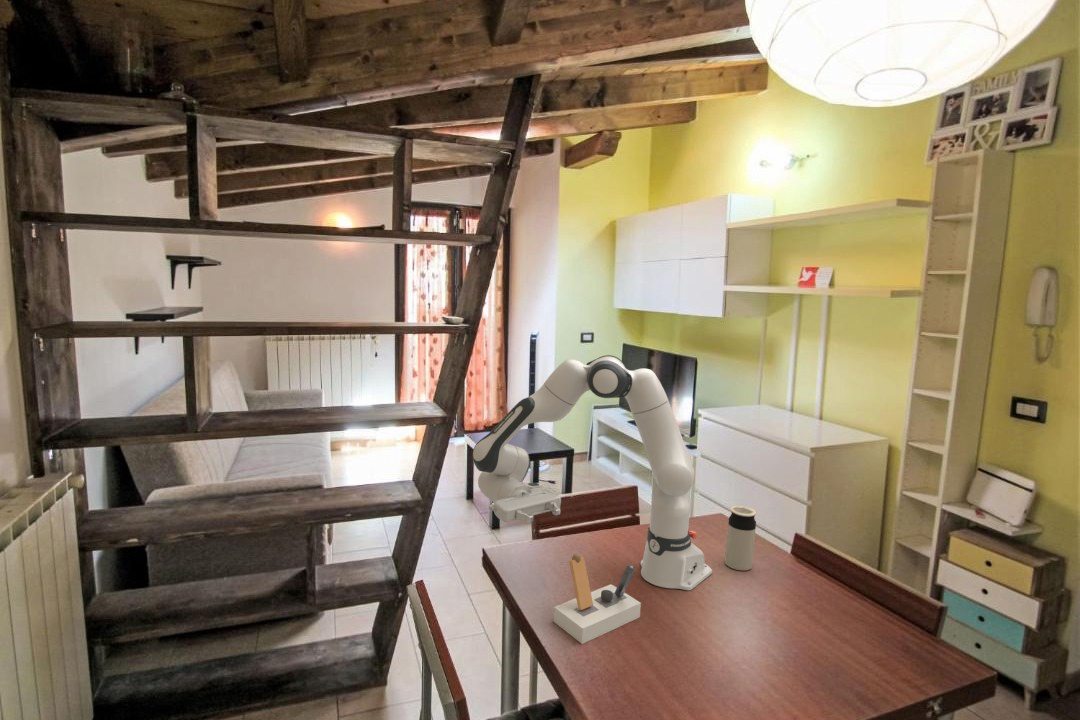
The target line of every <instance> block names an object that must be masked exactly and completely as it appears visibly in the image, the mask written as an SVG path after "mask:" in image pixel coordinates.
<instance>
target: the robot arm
mask: <svg viewBox="0 0 1080 720" xmlns="http://www.w3.org/2000/svg"><path fill="white" fill-rule="evenodd" d="M588 391H590V392H592V393H593V394H594V395H595V396H596V397H599V398H603V399H615V398H617V399H618V398H625V400H626V402H627V404H628V406H629V410H630V413H631V414H632V418H633V419H634V422H635V425H636V427H637V429H638V430H637V431H638V432H639V435H640V437H641V440H642V443H643V449H644V452H645V454H646V457H647V460H648V463H649V466H650V469H651V472H652V483H651V504H650V518H649V520H650V521H649V526H648V529H647V533H646V534H647V536H646V537H647V538H646V539H647V540H646V541H645V545H644V546H645V547H644V553H643V557H642V559H641V560H640V567H641V569H640V575H641V577H642V578H643V579H644V580H645V581H646V582H648V583H650V584H652V585H654V586H656V587H660V588H664V589H665V588H666V589H677V590H678V589H680V590H685V591H691V590H693V589H694V588H696V587H697V586H698V585H699V584H701V583H702V582H703V581H704V580H706V579H707V578H708V577H709V576H710V575H712V574H713V569H712V568H711V567H710V566H709V565H708V564H706V563H705V555H704V552H703V551H702V550H701V549H700V548H699V547H697V546H696V545H695V544H694V543H693V542H692V541H691V540H692V539H693V540H695V539H697V537H698V533H697V531H693V530H692V529H691V530H689V526H690V525H689V523H690V512H691V511H690V510H691V488H692V486H693V485H694V481H695V468H694V465H693V461H692V458H691V457H692V456H691V455H690V452H689V450H687V447H686V444H685V442H684V439H683V436H682V433H681V431H680V427H679V424H678V422H677V419H676V416H675V414H674V411H673V409H672V406H671V403H670V400H669V398H668V395H667V393H666V391H665V389H664V387H663V386H662V383H661V381H660V379H659V378H658V377H657V375H656V373H655V372H654V371H653V370H652V369H649V368H643V367H642V368H638V369H634V370H630V369H629V368H628V369H627V368H626V365H625V363H624V362H623V360H621V359H620V358H619V357H617V356H616V355H615V356H614V355H609V354H607V355H602V356H599V357H597V358H596V359H593V360H590V361H589V362H586V364H585V363H583V362H582V361H580V360H577V359H573V358H568V359H565V360H564V361H563V362H561V363H560V364H559V365H558V366H557V367H556V368H555V369H554V370H553V371H552V372H551V374H550V375H549V376H547V379H546V380H545V381H544V383H543V384H542V385H541V386H540V388H538V389H537V390H536V391H535V392H534V393H533V394H531V395H529V396H527V397H525V398H522V399H521V400H520V401H518V402H517V403H516V404H515V405H514V406H513V407H512V409H510V411H508V412H507V413H506V415H505V416H504V417H503V418H502V419H501V420H500V421H499V422H498V423H497V425H495V427H493V429H491V431H490V432H489V433H487V434H486V435H485V436H484V437H482V438H481V439H479V441H477V443H476V444H475V446H474V448H473V450H472V455H471V457H472V461H473V463H474V466H475V467H476V469H477V470H478V471H479V472H480V474H479V475H478V481H477V484H478V488H479V491H480V493H482V494H483V495H484V497H486V498H487V499H488V500H489V501H491V503H490V504H488V509H489V510H491V511H492V512H494V515H495V516H496V517H497V519H499V520H500V521H501V522H503V523H509V522H514V521H517V520H518V521H523V522H526V523H528V524H529V523H533V522H534V516H536V515H540V514H544V513H548V512H552V515H554V516H558V515H561V512H562V511H561V504H562V498H561V495H559V493H557V492H555V491H553V490H552V489H550V488H547V487H543V484H542V483H540V482H529V483H528V482H523V481H524V480H525V478H526V477H527V474H528V473H529V469H530V465H531V464H530V463H531V459H530V455H529V453H528V451H527V450H526V449H525V448H523V447H520V446H517V445H514V444H511V443H509V442H510V441H511V439H513V437H514V436H515V435H517V433H518V432H519V431H520V430H521V429H522V428H523V427H525V426H527V425H530V424H536V423H554V422H557V421H561V420H563V419H564V418H565V417H566V416H567V415H569V413H570V412H572V409H573V408H574V406H575V405H577V404H576V403H578V402H579V400H580V399H581V397H582V396H583V395H584V394H585V393H586V392H588ZM691 538H692V539H691Z"/></svg>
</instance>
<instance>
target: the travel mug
mask: <svg viewBox="0 0 1080 720" xmlns="http://www.w3.org/2000/svg"><path fill="white" fill-rule="evenodd" d="M730 511H731V514H730V516H729V517H728V525H727V535H726V545H725V546H726V547H725V559H724V563H725V565H726V566H728V567H729V568H731V569H733V570H736V571H741V572H742V571H749V570H751V569H752V567H753V557H754V550H755V549H754V547H755V540H756V539H755V538H756V537H755V536H756V528H757V521H756V518H755V517H756V514H757V512H756V510H755V509H754V508H751V507H749V506H744V505H734V506H731V507H730Z"/></svg>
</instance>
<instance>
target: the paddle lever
mask: <svg viewBox="0 0 1080 720" xmlns="http://www.w3.org/2000/svg"><path fill="white" fill-rule="evenodd" d="M568 562H569V569H570V573H571V579H572V582H573V588H574V593H575V598H576V600H577V605H578V610H583V609H585V608H587V607H590V606H592V605H593V601H592V596H591V592H592V591H591V586H590V581H589V577H588V576H589V575H588V572H587V566H586V559H585V556H581V555H579V553H575V554H573V555H572V557H571V559H569V560H568Z"/></svg>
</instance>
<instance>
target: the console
mask: <svg viewBox="0 0 1080 720" xmlns="http://www.w3.org/2000/svg"><path fill="white" fill-rule="evenodd" d="M616 589H617V586H615V585H613V584H611V583H610V584H608V585H605V586H603V587H600V588H598V589H596V590H593V591H591V596H592V601H593V605H592V606H590V607H587V608H585V609H583V610H578V605H577V600H576V597H575V598H572V599H569V600H568V601H565V602H562V603H560V604H557V605H555V606H553V622H554V623H555V624H556V625H557V626H559V627H560V628H561V629H563V630H564V631H565V632H566V633H567V634H569V635H570V636H571V637H573V639H575V640H577V642H578V643H580V644H581V645H583V644H585V643H588V642H590V641H592V640H593V639H596V638H598V637H601V636H602V635H605V634H606V633H609V632H611V631H613V630H615V629H618V628H620V627H622V626H625V625H626V624H628V623H630V622H633V621H635V620H637V619H639V618H641V607H642V606H641V605H642V602H640V601H638V600H637V599H636V598H634V597H633V596H631V595H629V594H628V593H626V592H624V594H623V596H622V597H619V598H618V597H617V596H616V594H615V591H616ZM603 590H609V591H611V592H612V593H613V599H612V600H611V601H604V600H602V599H601V592H602V591H603Z"/></svg>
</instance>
